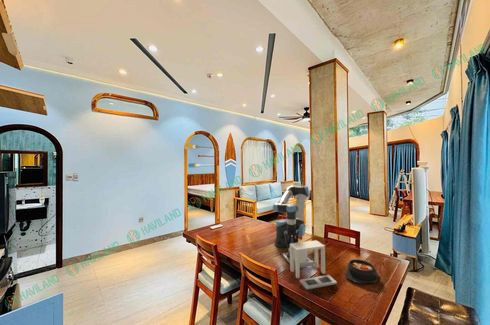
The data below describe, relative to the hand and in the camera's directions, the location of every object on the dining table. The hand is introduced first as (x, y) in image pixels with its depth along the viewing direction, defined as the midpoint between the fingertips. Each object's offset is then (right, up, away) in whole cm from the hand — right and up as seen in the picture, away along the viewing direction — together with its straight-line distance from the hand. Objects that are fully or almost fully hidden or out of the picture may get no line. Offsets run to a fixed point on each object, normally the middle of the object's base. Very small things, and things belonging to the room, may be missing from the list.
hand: (291, 251), depth 163 cm
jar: (+3, -4, -14) cm, 15 cm away
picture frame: (+2, -3, -9) cm, 9 cm away
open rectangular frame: (+7, -4, -29) cm, 30 cm away
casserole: (+40, -4, -30) cm, 51 cm away
